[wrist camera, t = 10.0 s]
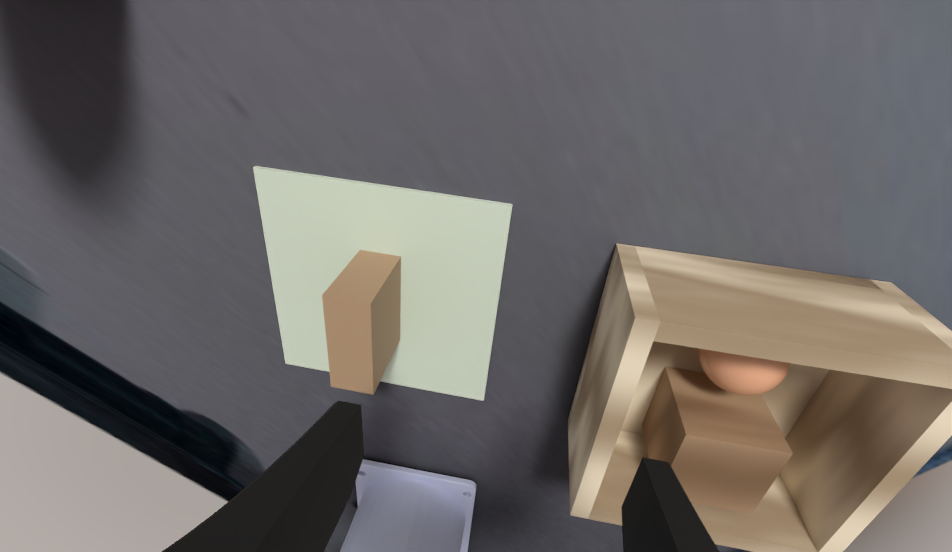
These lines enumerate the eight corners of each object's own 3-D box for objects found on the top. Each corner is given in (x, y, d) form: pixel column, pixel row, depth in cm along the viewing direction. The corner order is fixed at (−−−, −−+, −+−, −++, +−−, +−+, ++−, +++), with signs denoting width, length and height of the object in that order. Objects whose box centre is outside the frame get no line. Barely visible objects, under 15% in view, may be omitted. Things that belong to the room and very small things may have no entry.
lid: (485, 390, 26) (471, 462, 21) (292, 354, 27) (244, 416, 22) (513, 199, 20) (501, 248, 15) (263, 162, 21) (190, 198, 16)
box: (775, 457, 24) (828, 566, 19) (567, 420, 25) (570, 515, 20) (891, 282, 18) (1007, 376, 14) (616, 243, 19) (635, 317, 14)
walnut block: (722, 439, 23) (751, 514, 19) (641, 424, 23) (656, 496, 20) (754, 380, 21) (793, 453, 17) (665, 366, 21) (686, 434, 18)
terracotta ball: (752, 364, 20) (783, 419, 18) (680, 352, 21) (699, 405, 18) (783, 306, 19) (822, 356, 16) (704, 294, 19) (728, 342, 16)
